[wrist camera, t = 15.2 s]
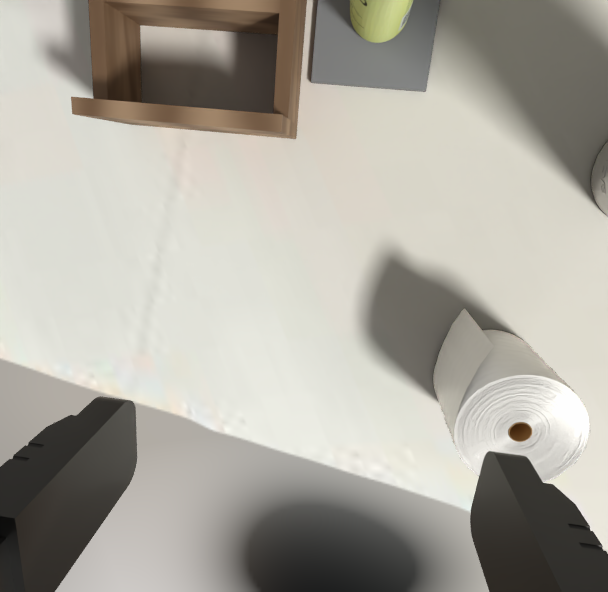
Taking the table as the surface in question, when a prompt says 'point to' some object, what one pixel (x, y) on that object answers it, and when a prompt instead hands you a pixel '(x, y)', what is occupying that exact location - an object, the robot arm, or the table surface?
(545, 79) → the table surface
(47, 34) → the table surface
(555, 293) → the table surface
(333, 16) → the mat
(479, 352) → the toilet tissue
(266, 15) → the rack
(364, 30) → the tube
